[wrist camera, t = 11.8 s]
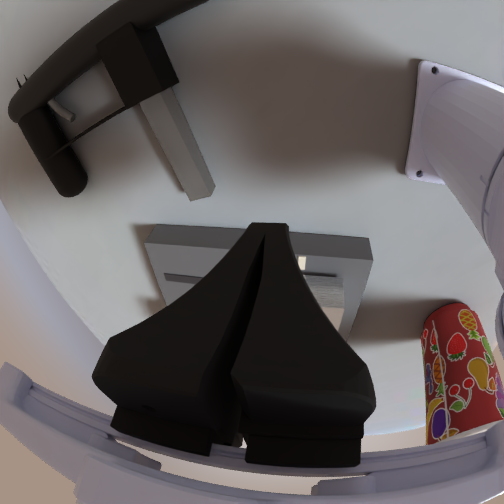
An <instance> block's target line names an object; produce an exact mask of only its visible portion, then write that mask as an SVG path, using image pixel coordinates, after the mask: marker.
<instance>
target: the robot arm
mask: <svg viewBox="0 0 504 504" xmlns="http://www.w3.org/2000/svg"><path fill="white" fill-rule="evenodd" d="M433 66H434V67H435V68H436V73H435V74H433V73H432V71H431V69H432V67H433ZM419 170H421V174H419V175H416V173H417V171H419ZM405 174H406V176H407V177H408V178H409V179H413V180H419V181H426V182H432V183H438V184H443V185H447V186H448V188H449V189H450V190H451V192H452V193H453V194H454V196H455V197H456V198H457V200H458V201H459V203H460V204H461V205H462V207H463V208H464V210H465V211H466V213H467V214H468V216H469V217H470V219H471V220H472V222H473V223H474V225H475V226H476V228H477V229H478V231H479V233H480V234H481V236H482V237H483V239H484V241H485V242H486V244H487V246H488V247H489V249H490V251H491V253H492V254H493V256H494V258H495V261H496V267H495V273H496V275H497V277H498V279H499V281H500V283H501V285H502V288H503V290H504V87H501V86H499V85H497V84H494V83H492V82H490V81H487V80H485V79H482V78H480V77H477V76H474V75H471V74H469V73H466V72H463V71H460V70H457V69H454V68H451V67H448V66H444V65H441V64H437V63H434V62H430V61H426V60H423V61H421V62H420V63H419V65H418V78H417V90H416V100H415V109H414V117H413V124H412V131H411V138H410V144H409V150H408V156H407V161H406V166H405ZM495 331H496V337H497V342H498V345H499V349H500V352H501V354H502V356H503V359H504V293H503V295H502V296H501V299H500V302H499V305H498V308H497V312H496V319H495ZM92 379H93V381H94V383H95V385H96V386H97V387H98V388H99V389H100V390H101V391H102V392H103V393H104V394H105V395H106V396H107V397H109V398H110V399H111V400H112V401H113V402H114V403H115V404H116V405H117V408H116V410H115V413H114V416H113V417H112V416H109V415H106V414H104V413H101V412H98V411H96V410H93V409H91V408H88V407H86V406H83V405H81V404H79V403H76V402H74V401H72V400H70V399H67V398H65V397H63V396H61V395H59V394H57V393H54V392H52V391H50V390H48V389H46V388H44V387H42V386H40V385H39V384H37V383H35V382H33V381H32V380H31V379H30V378H29V377H28V376H27V375H26V374H25V373H24V372H22V371H21V370H19V369H18V368H16V367H14V366H13V365H11V364H9V363H8V362H4V364H3V366H2V368H1V370H0V424H1V425H2V426H3V427H4V428H5V429H6V430H8V431H9V432H10V433H11V434H12V435H13V436H14V437H15V438H17V440H19V441H20V442H21V443H22V444H23V445H24V446H26V447H27V448H28V449H29V450H30V451H32V452H33V453H34V454H35V455H37V456H38V457H39V458H40V459H42V460H43V461H44V462H45V463H47V464H48V465H50V466H51V467H52V468H54V469H55V470H56V471H58V472H59V473H61V474H62V475H63V476H65V477H66V478H68V479H69V480H71V481H72V482H74V483H75V484H76V486H75V489H74V494H75V496H76V498H77V502H76V504H482V503H484V502H486V501H488V500H490V499H492V498H494V497H496V496H498V495H500V494H502V493H504V420H503V421H501V422H499V423H497V424H495V425H493V426H492V427H490V428H489V429H487V431H485V432H482V433H478V434H474V435H471V436H467V437H463V438H459V439H455V440H450V441H446V442H441V443H436V444H430V445H425V446H419V447H412V448H405V449H397V450H388V451H378V452H365V453H361V439H362V438H363V436H364V422H365V421H366V420H367V419H368V418H369V417H370V415H371V414H372V413H373V412H374V410H375V408H376V397H375V391H374V386H373V382H372V379H371V376H370V373H369V370H368V367H367V365H366V363H365V362H364V361H363V360H362V359H361V358H360V357H359V356H358V355H357V354H356V353H355V352H354V350H353V349H352V348H351V347H350V346H349V345H348V344H347V342H346V341H345V340H344V339H343V337H342V336H341V335H340V334H339V332H338V331H337V330H336V328H335V327H334V326H333V324H332V323H331V321H330V320H329V319H328V317H327V316H326V314H325V313H324V312H323V310H322V308H321V307H320V305H319V304H318V302H317V300H316V299H315V297H314V295H313V293H312V292H311V290H310V288H309V286H308V284H307V282H306V280H305V278H304V276H303V274H302V272H301V269H300V267H299V265H298V262H297V259H296V257H295V254H294V251H293V248H292V245H291V241H290V237H289V226H288V225H287V224H286V223H255V222H252V223H251V224H250V225H249V226H248V228H247V229H246V230H245V232H244V233H243V234H242V235H241V237H240V238H239V239H238V240H237V242H236V243H235V244H234V245H233V247H232V248H231V249H230V250H229V251H228V252H227V254H226V255H225V256H224V257H223V258H222V259H221V260H220V261H219V262H218V263H217V264H216V265H215V266H214V267H213V268H212V269H211V271H210V272H209V273H208V274H206V275H205V276H204V277H203V278H202V279H201V280H200V281H199V282H198V283H197V284H195V285H194V286H193V287H192V288H191V289H190V290H188V291H187V292H186V293H185V294H183V295H182V296H181V297H179V298H178V299H176V300H175V301H174V302H172V303H171V304H170V305H168V306H167V307H165V308H164V309H162V310H161V311H159V312H157V313H156V314H154V315H153V316H151V317H149V318H147V319H146V320H144V321H142V322H141V323H139V324H137V325H135V326H133V327H131V328H129V329H127V330H125V331H123V332H121V333H119V334H117V335H115V336H113V337H110V338H109V340H108V342H107V344H106V346H105V347H104V350H103V352H102V354H101V356H100V358H99V360H98V363H97V365H96V367H95V369H94V371H93V374H92ZM243 438H244V440H245V442H246V444H247V448H239V447H241V446H242V442H243ZM115 439H117V440H120V441H122V442H125V443H128V444H131V445H134V446H136V447H140V448H143V449H146V450H149V451H152V452H155V453H159V454H163V455H166V456H170V457H173V458H178V459H181V460H185V461H189V462H194V463H198V464H203V465H208V466H213V467H219V468H224V469H230V470H237V471H244V472H252V473H260V474H271V475H283V476H303V477H341V476H359V475H366V476H362V477H352V478H343V479H332V480H320V482H318V485H314V486H313V487H312V490H311V495H297V494H282V493H271V492H262V491H253V490H246V489H240V488H233V487H228V486H222V485H217V484H212V483H207V482H202V481H198V480H194V479H189V478H185V477H181V476H178V475H174V474H170V473H167V472H163V471H160V469H161V463H160V462H158V461H155V460H153V459H150V458H148V457H146V456H144V455H142V454H140V453H139V452H138V451H136V450H134V449H132V448H130V447H127V446H125V445H122V444H120V443H118V442H117V441H116V440H115Z"/></svg>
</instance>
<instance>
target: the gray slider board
mask: <svg viewBox="0 0 504 504" xmlns="http://www.w3.org/2000/svg"><path fill="white" fill-rule="evenodd" d="M245 230H246V229H234V228H217V227H199V226H180V225H159V224H157V225H156V226H155V228H154V229H153V231H152V232H151V233H150V235H149V236H148V238H147V239H146V241H145V242H144V244H145V247H146V250H147V253H148V256H149V259H150V262H151V265H152V268H153V270H154V273H155V276H156V279H157V281H158V284H159V287H160V290H161V292H162V295H163V297H164V300H165V303H166V305H167V306H168V305H170V304H171V303H172V302H174V301H175V300H176V299H178V298H179V297H181V296H182V295H183V294H185V293H186V292H187V291H188V290H190V289H191V288H192V287H193V286H194V285H195V284H197V283H198V282H199V281H200V280H201V279H202V278H203V277H204V276H205V275H206V274H208V273H209V272H210V271H211V269H212V268H213V267H214V266H215V265H216V264H217V263H218V262H219V261H220V260H221V259H222V258H223V257H224V256H225V255H226V254H227V252H228V251H229V250H230V249H231V248H232V247H233V245H234V244H235V243H236V242H237V240H238V239H239V238H240V237H241V235H242V234H243V233H244V232H245ZM289 237H290V241H291V245H292V248H293V251H294V254H295V257H296V259H297V262H298V265H299V267H300V269H301V272H302V274H303V275H310V276H323V277H337V278H343V288H344V307H345V309H344V312H343V316H342V319H341V323H340V326H339V329H338V332H339V334H340V335H341V336H342V337H343V339H344V340H345V341H346V342H347V339H348V337H349V334H350V331H351V328H352V326H353V323H354V320H355V317H356V314H357V311H358V308H359V305H360V302H361V299H362V296H363V293H364V290H365V287H366V283H367V280H368V277H369V274H370V270H371V267H372V263H373V256H372V251H371V247H370V242H369V238H359V237H347V236H335V235H322V234H309V233H295V232H289Z"/></svg>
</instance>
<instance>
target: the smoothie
mask: <svg viewBox="0 0 504 504" xmlns="http://www.w3.org/2000/svg"><path fill="white" fill-rule="evenodd" d="M421 344H422V354H423V364H424V377H425V395H426V445H430V444H436V443H441V442H446V441H450V440H455V439H459V438H463V437H467V436H471V435H474V434H478V433H482V432H485V431H487V429H489V428H490V427H492V426H493V425H495V424H497V423H499V422H501V421H503V420H504V389H503V385H502V382H501V379H500V375H499V372H498V369H497V366H496V363H495V360H494V357H493V354H492V351H491V348H490V346H489V343H488V340H487V338H486V335H485V332H484V330H483V327H482V325H481V322H480V320H479V318H478V315H477V314H476V313H475V312H474V311H472V310H470V308H469V307H468V306H467V305H465V304H463V303H454V304H449V305H446V306H444V307H441V308H439V309H438V310H436V311H435V312H433V313H432V314H431V315H430V316H429V317H428V318H427V320H426V321H425V323H424V330H423V332H422V334H421Z"/></svg>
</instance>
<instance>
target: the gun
mask: <svg viewBox="0 0 504 504" xmlns="http://www.w3.org/2000/svg"><path fill="white" fill-rule="evenodd" d="M207 1H209V0H119V1H117V2H116V3H115V4H113V5H112V6H110V7H109V8H107V9H106V10H105V11H103V12H102V13H101V14H99V15H98V16H97V17H95V18H94V19H93V20H91V21H90V22H89V23H87V24H86V25H85V26H84V27H82V28H81V29H80V30H79V31H78V32H76V33H75V34H74V35H73V36H72V37H71V38H69V39H68V40H67V41H66V42H65V43H64V44H63V45H62V46H61V47H59V48H58V49H57V50H56V51H55V52H54V53H53V54H52V55H51V56H50V57H49V58H48V59H47V60H46V61H45V62H44V63H43V64H42V65H41V66H40V67H39V68H38V69H37V70H36V71H35V72H34V73H33V74H32V75H31V77H30V78H29V79H28V80H27V78H26V77H25V79H26V82H25V83H24V84H23V86H21V84H20V83H19V81H18V79H17V82H18V85H19V88H20V89H19V90H18V91H17V93H16V94H15V95H14V96H13V97H12V99H11V101H10V103H9V106H8V114H9V117H10V119H11V120H12V121H13V122H15V123H18V125H19V127H20V129H21V131H22V132H23V134H24V136H25V138H26V140H27V141H28V143H29V145H30V147H31V149H32V150H33V152H34V154H35V155H36V157H37V159H38V161H39V162H40V164H41V165H42V167H43V169H44V170H45V172H46V174H47V175H48V177H49V178H50V180H51V182H52V183H53V185H54V186H55V188H56V189H57V191H58V192H59V194H60V195H62V196H64V197H74V196H76V195H78V194H80V193H81V192H82V191H83V190H84V188H85V187H86V185H87V181H88V177H87V174H86V172H85V171H84V169H83V168H82V166H81V164H80V163H79V161H78V159H77V158H76V156H75V154H74V152H73V151H72V149H71V147H70V146H69V145H70V144H71V143H73V142H74V141H76V140H77V139H79V138H80V137H82V136H83V135H85V134H86V133H88V132H89V131H91V130H92V129H94V128H96V127H97V126H99V125H101V124H102V123H104V122H105V121H107V120H109V119H111V118H112V117H114V116H116V115H117V114H119V113H121V112H123V111H125V110H126V109H129V108H130V107H132V106H134V105H136V104H138V103H139V104H140V106H141V108H142V110H143V112H144V114H145V116H146V118H147V120H148V122H149V124H150V126H151V128H152V130H153V132H154V134H155V136H156V138H157V140H158V141H159V143H160V145H161V147H162V149H163V151H164V153H165V155H166V157H167V159H168V161H169V162H170V164H171V166H172V168H173V170H174V172H175V174H176V176H177V177H178V179H179V181H180V183H181V185H182V187H183V189H184V190H185V192H186V194H187V196H188V198H189V200H190V201H194V200H198V199H201V198H205V197H209V196H211V195H212V193H213V191H214V188H215V184H214V181H213V179H212V177H211V175H210V172H209V170H208V168H207V166H206V163H205V161H204V159H203V156H202V154H201V152H200V150H199V147H198V145H197V143H196V141H195V138H194V136H193V134H192V131H191V129H190V127H189V125H188V122H187V120H186V118H185V116H184V114H183V112H182V110H181V108H180V105H179V103H178V101H177V99H176V97H175V95H174V93H173V91H172V89H171V86H173V85H175V84H177V83H178V82H179V80H178V78H177V76H176V73H175V71H174V69H173V66H172V64H171V62H170V59H169V57H168V55H167V52H166V50H165V48H164V45H163V43H162V41H161V38H160V36H159V34H158V32H157V29H156V27H155V26H157V25H159V24H161V23H162V22H164V21H166V20H168V19H170V18H172V17H174V16H176V15H178V14H180V13H183V12H185V11H187V10H189V9H191V8H193V7H196V6H198V5H200V4H203V3H205V2H207ZM100 60H102V61H103V63H104V65H105V67H106V69H107V71H108V73H109V75H110V77H111V79H112V81H113V83H114V85H115V87H116V89H117V91H118V93H119V95H120V97H121V99H122V101H123V103H124V105H125V106H124V107H123V108H121V109H119V110H117V111H116V112H114V113H112V114H111V115H109V116H107V117H106V118H104V119H102V120H101V121H99V122H98V123H96V124H94V125H93V126H91V127H90V128H88V129H87V130H85V131H84V132H82V133H81V134H79V135H78V136H76V137H75V138H73V139H72V140H70V141H69V142H67V140H66V139H65V137H64V135H63V133H62V131H61V130H60V128H59V126H58V124H57V122H56V121H55V119H54V117H53V115H52V113H51V111H50V109H49V107H48V105H47V103H48V104H49V105H50V107H51V108H52V109H53V110H54V111H55V112H56V113H57V114H59V115H60V116H61V117H63V118H65V119H66V120H68V121H70V122H73V121H74V119H75V117H76V114H74V113H72V112H70V111H68V110H66V109H65V108H63V107H62V106H61V105H60V104H58V103H57V101H56V100H55V99H54V97H55V96H56V95H57V94H59V93H60V92H61V91H62V90H63V89H64V88H66V87H67V86H68V85H69V84H70V83H72V82H73V81H74V80H75V79H77V78H78V77H79V76H80V75H82V74H83V73H84V72H86V71H87V70H88V69H90V68H91V67H92V66H94V65H95V64H96V63H98V62H99V61H100ZM24 76H25V75H24Z"/></svg>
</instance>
